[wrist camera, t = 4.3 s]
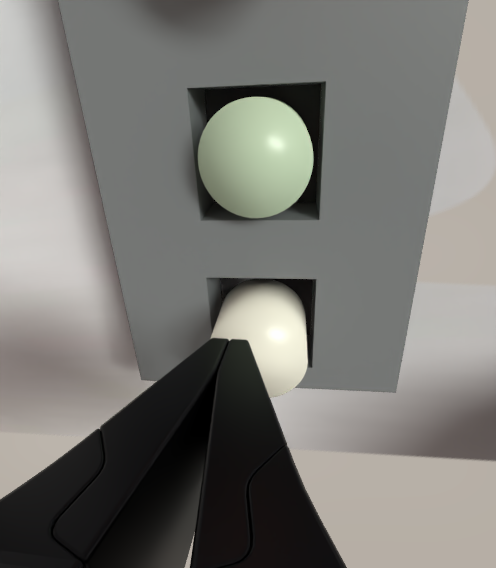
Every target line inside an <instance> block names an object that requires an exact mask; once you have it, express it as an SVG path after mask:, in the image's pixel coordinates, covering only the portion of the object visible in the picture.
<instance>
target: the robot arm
mask: <svg viewBox="0 0 496 568" xmlns="http://www.w3.org/2000/svg"><path fill="white" fill-rule="evenodd" d="M100 430H101V431H100ZM194 532H195V535H194ZM193 536H194V542H193V550H192V557H191V564H190V568H347V567H346V565H345V563H344V562H343V560H342V558H341V556H340V554H339V552H338V551H337V549H336V547H335V545H334V543H333V541H332V540H331V538H330V536H329V534H328V532H327V530H326V528H325V527H324V525H323V523H322V521H321V519H320V517H319V515H318V513H317V512H316V509H315V507H314V505H313V504H312V501H311V499H310V497H309V495H308V493H307V491H306V490H305V487H304V485H303V482H302V480H301V478H300V475H299V473H298V470H297V468H296V466H295V463H294V461H293V458H292V455H291V453H290V450H289V448H288V447H287V443H286V440H285V437H284V435H283V432H282V429H281V427H280V424H279V421H278V419H277V416H276V413H275V411H274V408H273V405H272V403H271V400H270V397H269V395H268V392H267V389H266V387H265V384H264V381H263V379H262V376H261V373H260V371H259V368H258V365H257V363H256V360H255V357H254V355H253V352H252V349H251V347H250V344H249V342H248V340H243V339H231V340H230V341H229V340H228V339H226V338H211V339H209V340H208V341H207V342H206V343H204V344H203V345H202V346H201V347H199V348H198V349H197V350H196V351H194V352H193V353H192V354H191V355H189V356H188V357H187V358H186V359H184V360H183V361H182V362H181V363H179V364H178V365H177V366H176V367H174V368H173V369H172V370H171V371H169V372H168V373H167V374H166V375H164V376H163V377H162V378H161V379H159V380H158V381H157V382H156V383H154V384H153V385H152V386H151V387H149V388H148V389H147V390H146V391H144V392H143V393H142V394H140V395H139V396H138V397H137V398H135V399H134V400H133V401H132V402H130V403H129V404H128V405H127V406H125V407H124V408H123V409H122V410H120V411H119V412H118V413H117V414H115V415H114V416H113V417H112V418H110V419H109V420H108V421H107V422H105V423H104V424H103V425H102V426H101V427H100V429H96V430H95V431H94V432H93V433H91V434H90V435H89V436H88V437H86V438H85V439H84V440H83V441H81V442H80V443H79V444H77V445H76V446H75V447H74V448H72V449H71V450H70V451H68V452H67V453H66V454H64V455H63V456H62V457H60V458H59V459H58V460H56V461H55V462H54V463H52V464H51V465H50V466H48V467H47V468H45V469H44V470H42V471H41V472H39V473H38V474H37V475H35V476H34V477H32V478H31V479H30V480H28V481H27V482H25V483H24V484H22V485H21V486H20V487H18V488H17V489H15V490H14V491H12V492H11V493H9V494H8V495H6V496H5V497H3V498H2V499H0V568H184V567H185V564H186V560H187V557H188V553H189V550H190V546H191V543H192V539H193Z"/></svg>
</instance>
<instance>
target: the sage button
mask: <svg viewBox="0 0 496 568" xmlns="http://www.w3.org/2000/svg"><path fill="white" fill-rule="evenodd" d="M198 166H199V172H200V175H201V178H202V181H203V183H204V185H205V187H206V189H207V191H208V192H209V194H210V195H211V196H212V198H213V199H214V200H215V201H216V202H217V203H218V204H219V205H221V206H222V207H223V208H225V209H226V210H228V211H230V212H232V213H234V214H236V215H239V216H242V217H248V218H265V217H270V216H273V215H276V214H278V213H280V212H282V211H284V210H286V209H287V208H289V207H290V206H291V205H292V204H294V203H295V202H296V201H297V200H298V198H299V197H300V196H301V195H302V193H303V192H304V190H305V188H306V187H307V185H308V182H309V180H310V177H311V173H312V169H313V148H312V143H311V139H310V136H309V133H308V130H307V128H306V125H305V123H304V121H303V120H302V118H301V116H300V115H299V114H298V113H297V112H296V111H295V110H294V109H293V108H292V107H291V106H290V105H288V104H287V103H285V102H283V101H281V100H278V99H275V98H271V97H247V98H242V99H238V100H236V101H233V102H231V103H229V104H227V105H226V106H224V107H222V108H221V109H220V110H219V111H218V112H216V114H215V115H214V116H213V117H212V118H211V119H210V121H209V122H208V124H207V125H206V127H205V129H204V131H203V133H202V136H201V139H200V143H199V147H198Z"/></svg>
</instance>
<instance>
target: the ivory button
mask: <svg viewBox="0 0 496 568" xmlns="http://www.w3.org/2000/svg"><path fill="white" fill-rule="evenodd" d="M211 338H226V339H228V340H229V341H230V340H231V339H243V340H248V342H249V344H250V347H251V349H252V352H253V355H254V357H255V360H256V363H257V365H258V368H259V371H260V373H261V376H262V379H263V381H264V384H265V387H266V389H267V392H268V395H269V397H270V398H272V397H277V396H280V395H283V394H285V393H287V392H289V391H290V390H292V389H293V388H295V387H296V386H297V385H298V384H299V383H300V382H301V380H302V379H303V377H304V375H305V373H306V370H307V364H308V357H307V335H306V314H305V308H304V305H303V303H302V301H301V299H300V298H299V296H298V295H297V294H296V293H295V292H294V291H293V290H292V289H291V288H290V287H288V286H286V285H285V284H283V283H281V282H278V281H275V280H271V279H252V280H248V281H245V282H242V283H240V284H238V285H237V286H235V287H234V288H233V289H232V290H231V291H230V292H229V293H228V294H227V296H226V297H225V299H224V301H223V304H222V307H221V310H220V312H219V315H218V318H217V321H216V324H215V327H214V330H213V332H212V335H211ZM211 338H210V339H211Z"/></svg>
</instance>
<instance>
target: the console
mask: <svg viewBox="0 0 496 568" xmlns="http://www.w3.org/2000/svg"><path fill="white" fill-rule="evenodd" d="M468 1H469V0H58V3H59V7H60V12H61V16H62V21H63V25H64V30H65V35H66V39H67V44H68V48H69V53H70V57H71V62H72V66H73V71H74V75H75V80H76V85H77V89H78V94H79V98H80V103H81V107H82V112H83V116H84V121H85V125H86V130H87V135H88V139H89V144H90V148H91V153H92V157H93V162H94V166H95V171H96V175H97V180H98V185H99V189H100V194H101V198H102V203H103V207H104V212H105V216H106V221H107V225H108V230H109V235H110V239H111V244H112V248H113V253H114V257H115V262H116V266H117V271H118V275H119V280H120V285H121V289H122V294H123V298H124V303H125V307H126V312H127V316H128V321H129V325H130V330H131V335H132V339H133V344H134V348H135V353H136V357H137V362H138V366H139V371H140V375H141V380H150V381H158V380H159V379H161V378H162V377H163V376H164V375H166V374H167V373H168V372H169V371H171V370H172V369H173V368H174V367H176V366H177V365H178V364H179V363H181V362H182V361H183V360H184V359H186V358H187V357H188V356H189V355H191V354H192V353H193V352H194V351H196V350H197V349H198V348H199V347H201V346H202V345H203V344H204V343H206V342H207V341H208V340H209V339H210V338H211V335H212V332H213V330H214V327H215V324H216V321H217V318H218V315H219V312H220V310H221V307H222V297H221V285H220V278H274V279H313V282H312V305H311V328H310V335H307V357H308V364H307V370H306V373H305V375H304V377H303V379H302V380H301V382H300V383H299V384H298V385H297V386H296V387H295V388H312V389H332V390H352V391H372V392H393V393H396V388H397V383H398V378H399V372H400V367H401V362H402V356H403V351H404V345H405V340H406V335H407V329H408V324H409V318H410V313H411V308H412V302H413V297H414V292H415V286H416V281H417V275H418V270H419V265H420V259H421V254H422V248H423V243H424V237H425V232H426V227H427V222H428V216H429V211H430V205H431V200H432V195H433V189H434V184H435V178H436V173H437V168H438V162H439V157H440V152H441V146H442V141H443V135H444V130H445V125H446V119H447V114H448V108H449V103H450V98H451V92H452V87H453V81H454V76H455V71H456V65H457V60H458V55H459V49H460V44H461V38H462V32H463V28H464V22H465V16H466V11H467V6H468ZM306 84H321V99H320V122H319V144H318V167H317V190H316V202H295V203H294V204H292V205H291V206H290V207H289V208H287V209H286V210H284V211H282V212H280V213H278V214H276V215H273V216H270V217H265V218H248V217H242V216H239V215H236V214H234V213H232V212H230V211H228V210H226V209H225V208H223V207H222V206H221V205H219V204H218V203H214V201H213V198H212V196H211V195H210V194H209V192H208V191H207V189H206V187H205V185H204V183H203V181H202V178H201V175H200V172H199V166H198V147H199V143H200V139H201V136H202V133H203V131H204V129H205V127H206V125H207V116H206V104H205V92H204V89H224V88H244V87H265V86H286V85H306Z"/></svg>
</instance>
